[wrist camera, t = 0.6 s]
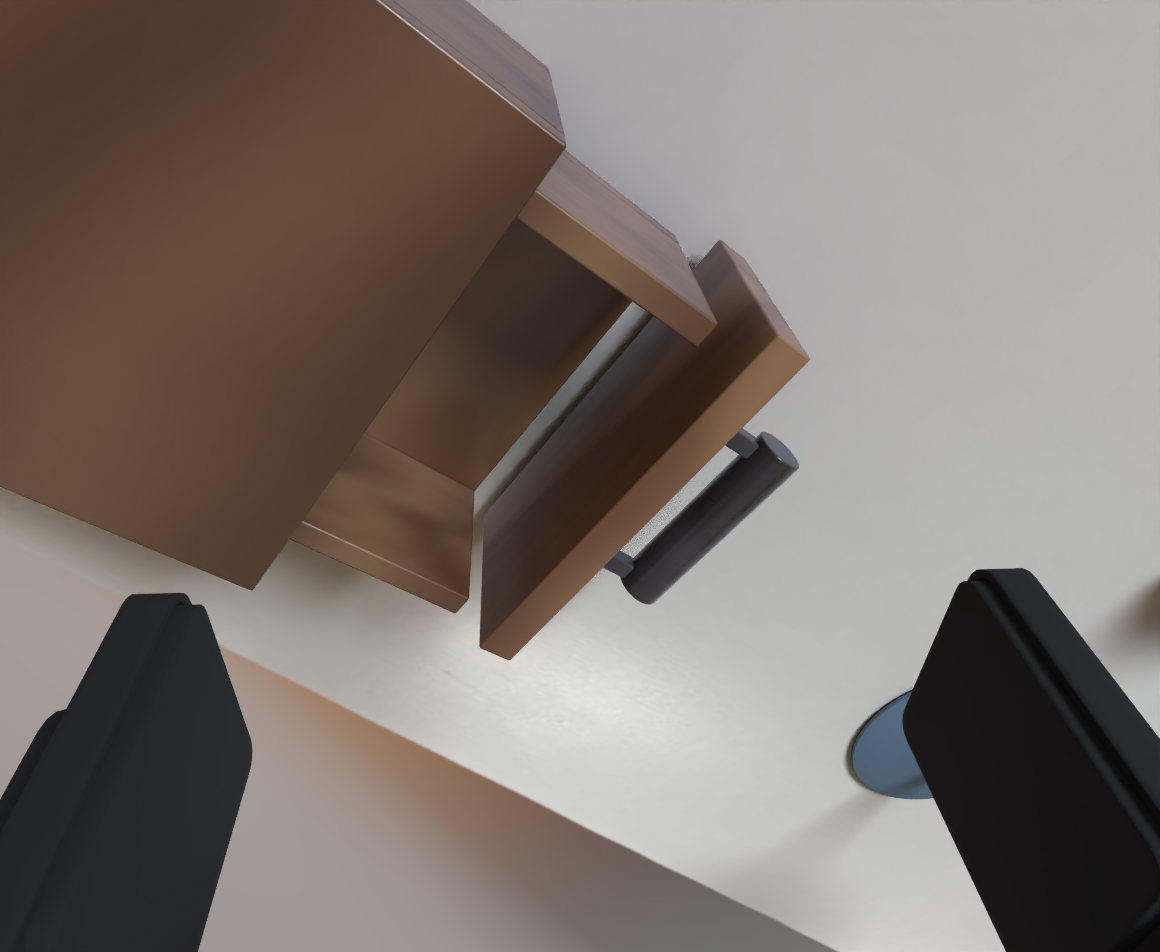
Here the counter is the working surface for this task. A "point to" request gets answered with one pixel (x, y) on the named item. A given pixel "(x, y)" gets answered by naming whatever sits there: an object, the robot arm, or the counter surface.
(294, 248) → the cabinet
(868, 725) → the cocktail glass
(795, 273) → the counter surface
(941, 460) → the counter surface
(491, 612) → the drawer
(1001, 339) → the counter surface
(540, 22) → the counter surface
